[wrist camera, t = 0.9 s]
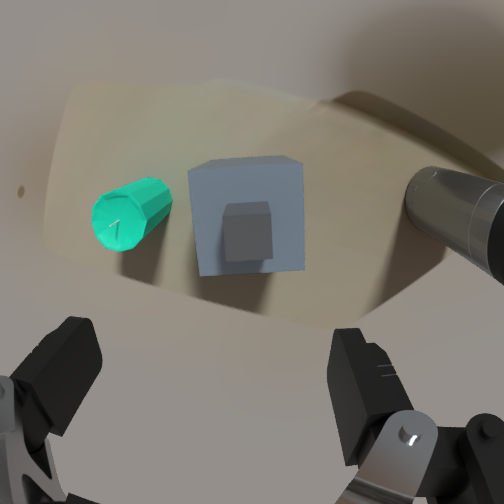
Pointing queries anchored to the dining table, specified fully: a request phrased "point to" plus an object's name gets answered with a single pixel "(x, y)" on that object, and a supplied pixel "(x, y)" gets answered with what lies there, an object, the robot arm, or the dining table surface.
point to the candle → (130, 213)
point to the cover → (248, 215)
